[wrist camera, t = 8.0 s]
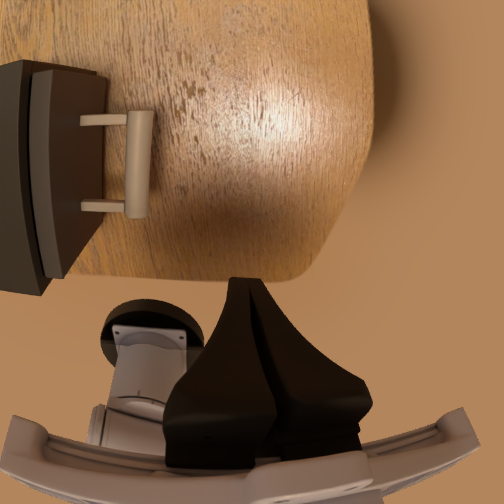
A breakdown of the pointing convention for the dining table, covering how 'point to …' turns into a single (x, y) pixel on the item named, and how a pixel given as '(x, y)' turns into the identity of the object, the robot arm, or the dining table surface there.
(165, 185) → the dining table surface
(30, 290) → the dark grey drawer unit
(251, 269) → the dining table surface
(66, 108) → the open drawer with handle
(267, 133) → the dining table surface
